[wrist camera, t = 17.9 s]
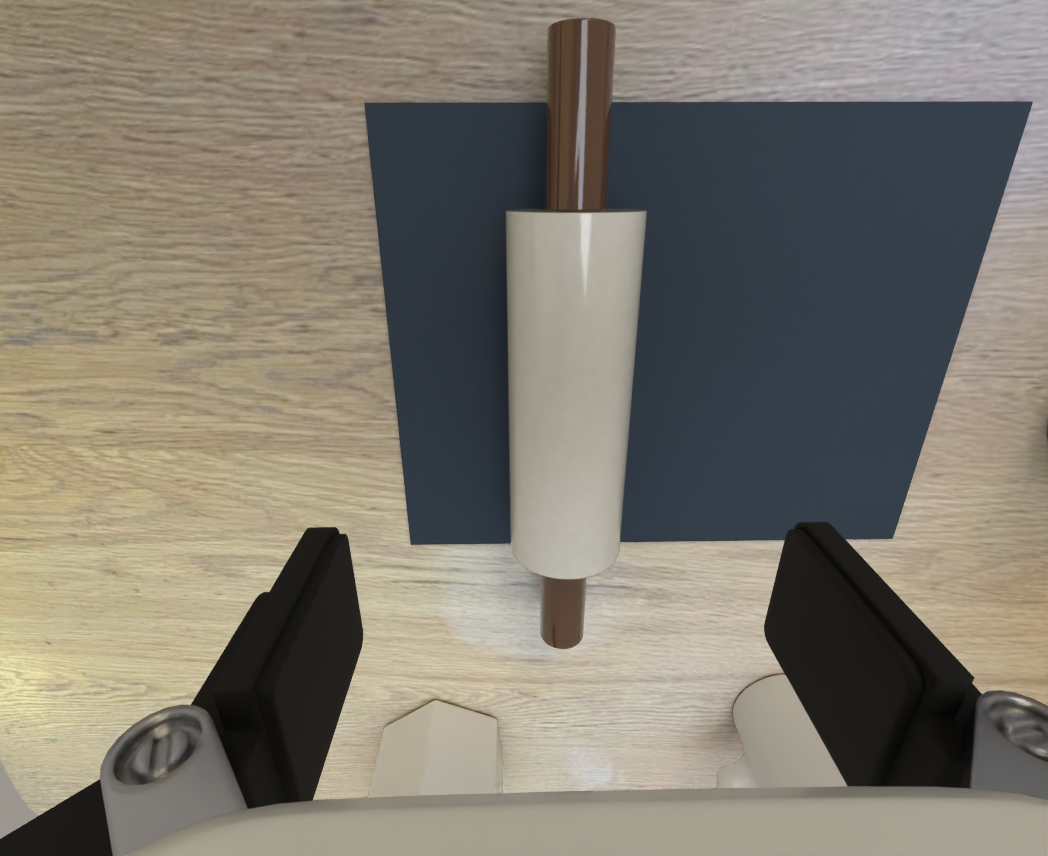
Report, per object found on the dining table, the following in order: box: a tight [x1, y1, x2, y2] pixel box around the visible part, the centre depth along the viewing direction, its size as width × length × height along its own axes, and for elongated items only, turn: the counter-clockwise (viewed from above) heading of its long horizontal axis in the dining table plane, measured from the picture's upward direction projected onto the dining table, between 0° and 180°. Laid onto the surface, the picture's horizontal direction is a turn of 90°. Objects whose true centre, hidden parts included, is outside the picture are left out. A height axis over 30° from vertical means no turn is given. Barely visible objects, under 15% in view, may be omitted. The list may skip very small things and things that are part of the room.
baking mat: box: [365, 102, 1033, 545], centre depth 27 cm, size 28×22×1 cm
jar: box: [367, 700, 504, 798], centre depth 33 cm, size 9×8×12 cm
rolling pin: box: [505, 18, 647, 649], centre depth 25 cm, size 28×6×6 cm
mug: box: [717, 675, 847, 788], centre depth 32 cm, size 10×7×12 cm, turn 118°
